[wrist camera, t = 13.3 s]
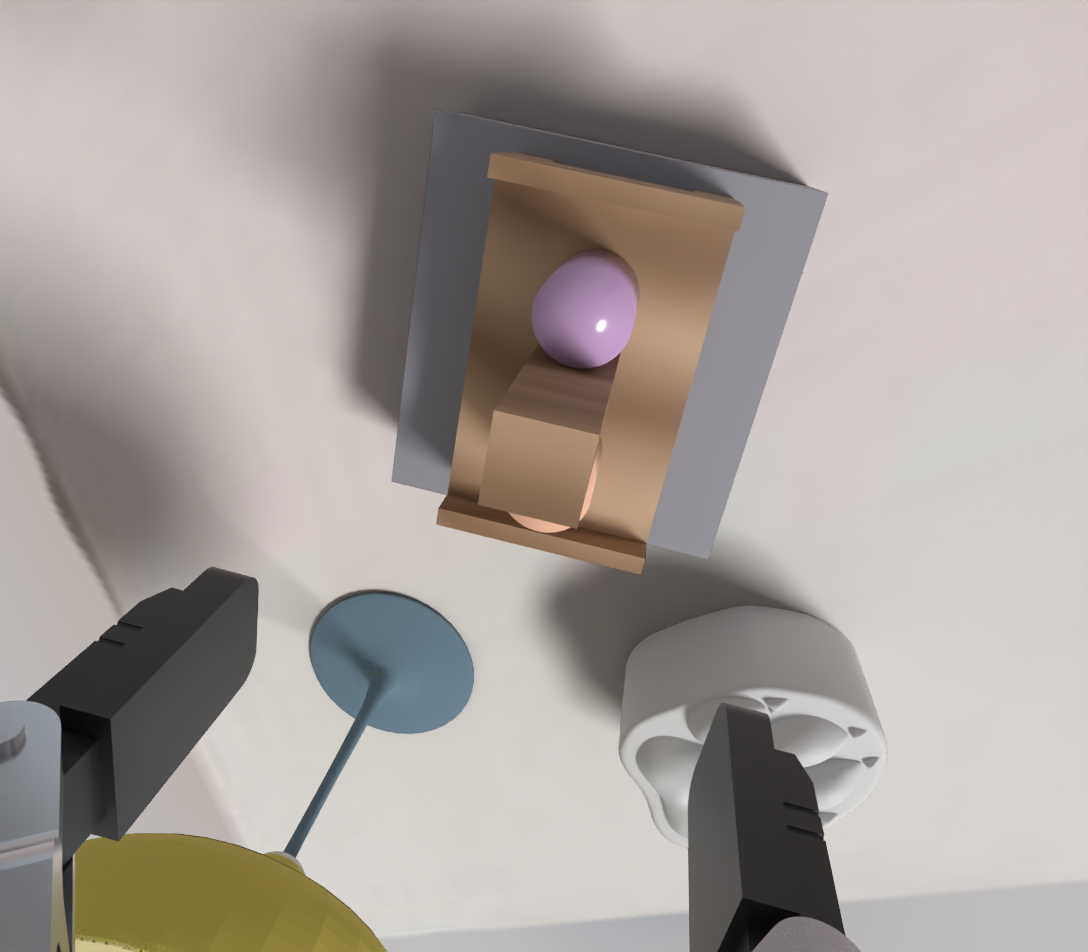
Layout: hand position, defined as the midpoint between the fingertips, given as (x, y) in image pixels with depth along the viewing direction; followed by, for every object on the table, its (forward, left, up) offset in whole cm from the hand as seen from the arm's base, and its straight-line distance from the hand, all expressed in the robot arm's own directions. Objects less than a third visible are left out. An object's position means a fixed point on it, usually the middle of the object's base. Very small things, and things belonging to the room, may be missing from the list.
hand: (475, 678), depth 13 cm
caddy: (0, -1, -23) cm, 23 cm away
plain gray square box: (+1, -1, -28) cm, 28 cm away
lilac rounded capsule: (-3, -1, -20) cm, 20 cm away
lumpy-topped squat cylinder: (+19, +13, -28) cm, 36 cm away
